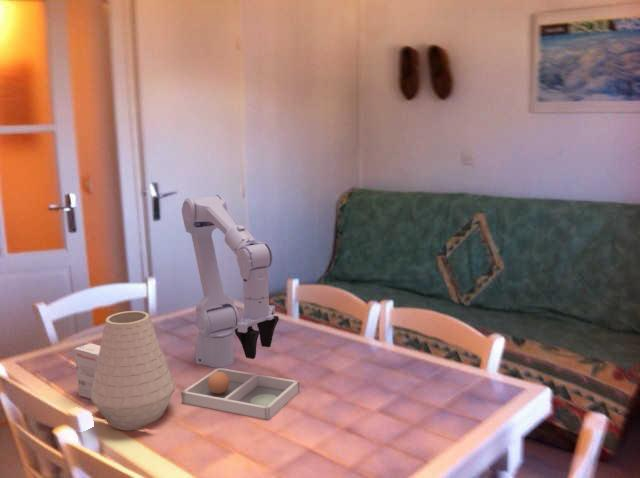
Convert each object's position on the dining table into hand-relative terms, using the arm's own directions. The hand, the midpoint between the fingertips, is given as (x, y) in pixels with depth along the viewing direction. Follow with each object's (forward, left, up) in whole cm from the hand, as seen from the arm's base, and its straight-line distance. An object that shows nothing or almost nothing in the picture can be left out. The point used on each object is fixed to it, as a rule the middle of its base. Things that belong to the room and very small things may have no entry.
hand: (258, 352), depth 152 cm
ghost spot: (+5, -7, -9) cm, 12 cm away
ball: (-7, -7, -9) cm, 13 cm away
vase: (-18, -23, -10) cm, 30 cm away
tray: (-1, -7, -10) cm, 12 cm away
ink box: (-34, -17, -10) cm, 39 cm away
